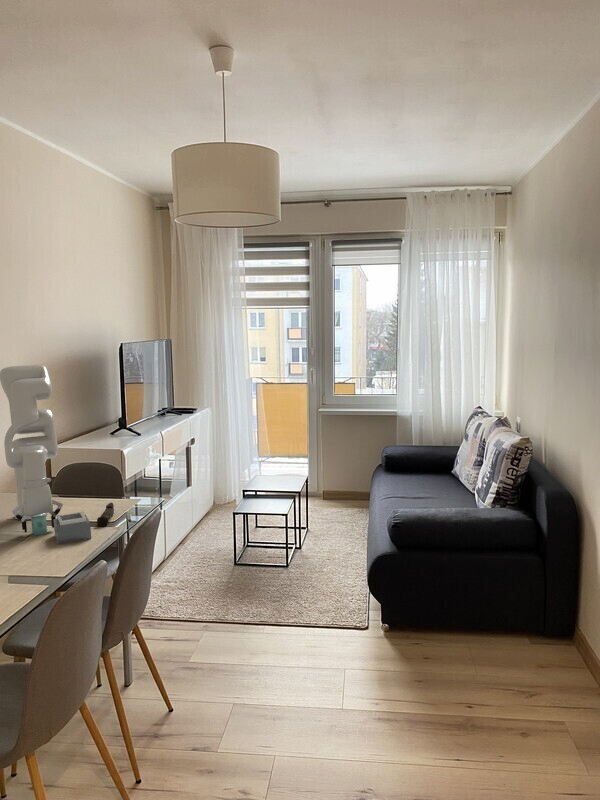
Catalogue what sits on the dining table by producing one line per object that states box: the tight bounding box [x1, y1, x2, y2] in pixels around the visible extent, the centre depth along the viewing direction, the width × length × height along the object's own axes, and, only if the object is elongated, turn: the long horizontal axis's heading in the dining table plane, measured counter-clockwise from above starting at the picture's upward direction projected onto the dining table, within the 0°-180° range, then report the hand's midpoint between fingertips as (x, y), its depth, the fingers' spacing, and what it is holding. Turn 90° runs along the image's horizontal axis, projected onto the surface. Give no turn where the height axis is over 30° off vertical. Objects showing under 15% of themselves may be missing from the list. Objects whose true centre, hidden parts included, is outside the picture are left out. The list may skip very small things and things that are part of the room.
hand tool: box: [96, 502, 115, 527], centre depth 250 cm, size 19×4×5 cm, turn 3°
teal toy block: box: [30, 515, 48, 536], centre depth 235 cm, size 7×5×6 cm
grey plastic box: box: [53, 511, 92, 545], centre depth 229 cm, size 11×11×8 cm
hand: (39, 529), depth 236 cm, fingers open, 9 cm apart
